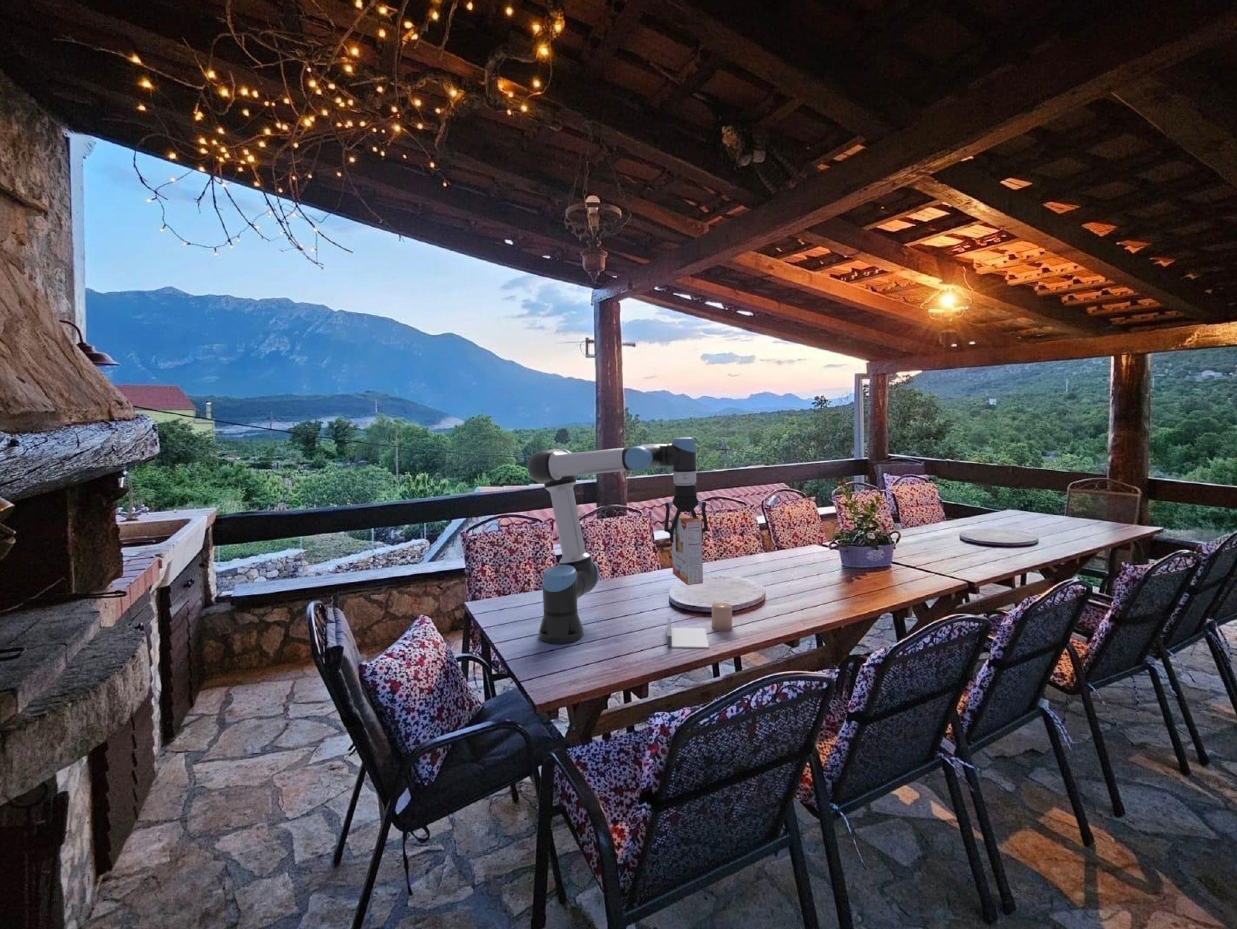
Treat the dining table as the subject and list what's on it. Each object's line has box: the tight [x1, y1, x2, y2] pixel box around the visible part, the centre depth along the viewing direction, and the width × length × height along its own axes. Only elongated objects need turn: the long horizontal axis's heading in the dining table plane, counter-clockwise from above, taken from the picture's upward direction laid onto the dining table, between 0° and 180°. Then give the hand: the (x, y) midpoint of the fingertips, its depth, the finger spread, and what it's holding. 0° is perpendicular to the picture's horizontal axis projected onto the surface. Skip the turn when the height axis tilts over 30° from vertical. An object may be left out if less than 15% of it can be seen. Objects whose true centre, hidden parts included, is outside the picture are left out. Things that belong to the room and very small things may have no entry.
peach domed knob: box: [711, 602, 733, 633], centre depth 195 cm, size 7×7×8 cm
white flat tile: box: [666, 617, 710, 649], centre depth 186 cm, size 13×16×4 cm
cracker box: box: [671, 513, 704, 586], centre depth 184 cm, size 14×6×21 cm, turn 14°
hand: (686, 552), depth 184 cm, fingers closed on cracker box, 7 cm apart
